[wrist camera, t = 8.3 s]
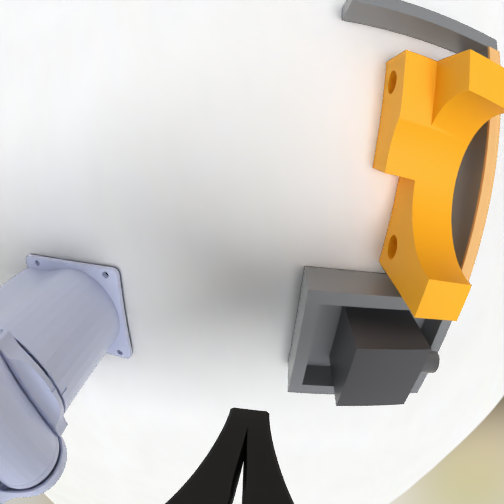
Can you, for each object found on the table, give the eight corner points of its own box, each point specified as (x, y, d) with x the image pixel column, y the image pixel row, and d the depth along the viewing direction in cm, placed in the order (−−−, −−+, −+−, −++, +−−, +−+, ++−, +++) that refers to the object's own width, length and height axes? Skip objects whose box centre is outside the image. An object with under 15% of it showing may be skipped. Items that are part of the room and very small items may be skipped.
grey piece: (288, 362, 21) (287, 420, 16) (328, 6, 13) (344, -38, 7) (406, 366, 21) (426, 417, 16) (471, 48, 12) (521, 32, 7)
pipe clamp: (385, 62, 14) (434, 32, 8) (448, 84, 13) (512, 73, 7) (352, 256, 18) (380, 314, 12) (412, 266, 18) (456, 321, 12)
